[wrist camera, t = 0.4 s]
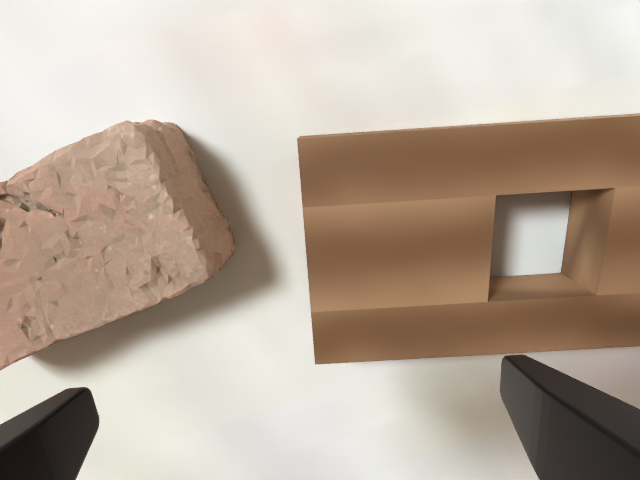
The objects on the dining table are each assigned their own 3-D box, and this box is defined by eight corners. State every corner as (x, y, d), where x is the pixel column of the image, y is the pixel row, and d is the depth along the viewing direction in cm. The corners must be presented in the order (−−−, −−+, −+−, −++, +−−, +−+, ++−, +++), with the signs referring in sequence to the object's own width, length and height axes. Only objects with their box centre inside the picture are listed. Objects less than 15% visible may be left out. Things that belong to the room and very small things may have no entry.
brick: (172, 111, 20) (128, 108, 15) (245, 249, 22) (225, 281, 18) (-73, 231, 22) (-176, 260, 17) (16, 346, 24) (-53, 397, 20)
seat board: (606, 318, 23) (647, 345, 20) (315, 334, 23) (315, 364, 21) (644, 113, 19) (700, 111, 17) (300, 136, 20) (297, 138, 17)
